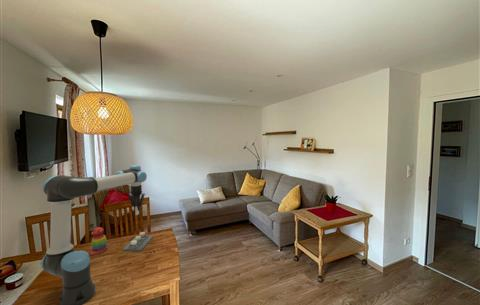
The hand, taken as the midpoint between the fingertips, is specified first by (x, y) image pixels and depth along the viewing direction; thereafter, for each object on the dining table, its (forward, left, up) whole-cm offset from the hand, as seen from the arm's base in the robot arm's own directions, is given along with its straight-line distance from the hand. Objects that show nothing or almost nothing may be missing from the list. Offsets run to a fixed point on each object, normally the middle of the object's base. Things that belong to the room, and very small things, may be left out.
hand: (137, 214), depth 163 cm
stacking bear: (-10, +25, -25) cm, 37 cm away
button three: (+6, 0, -22) cm, 22 cm away
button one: (-7, 0, -22) cm, 22 cm away
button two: (0, 0, -22) cm, 22 cm away
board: (0, 0, -24) cm, 24 cm away
